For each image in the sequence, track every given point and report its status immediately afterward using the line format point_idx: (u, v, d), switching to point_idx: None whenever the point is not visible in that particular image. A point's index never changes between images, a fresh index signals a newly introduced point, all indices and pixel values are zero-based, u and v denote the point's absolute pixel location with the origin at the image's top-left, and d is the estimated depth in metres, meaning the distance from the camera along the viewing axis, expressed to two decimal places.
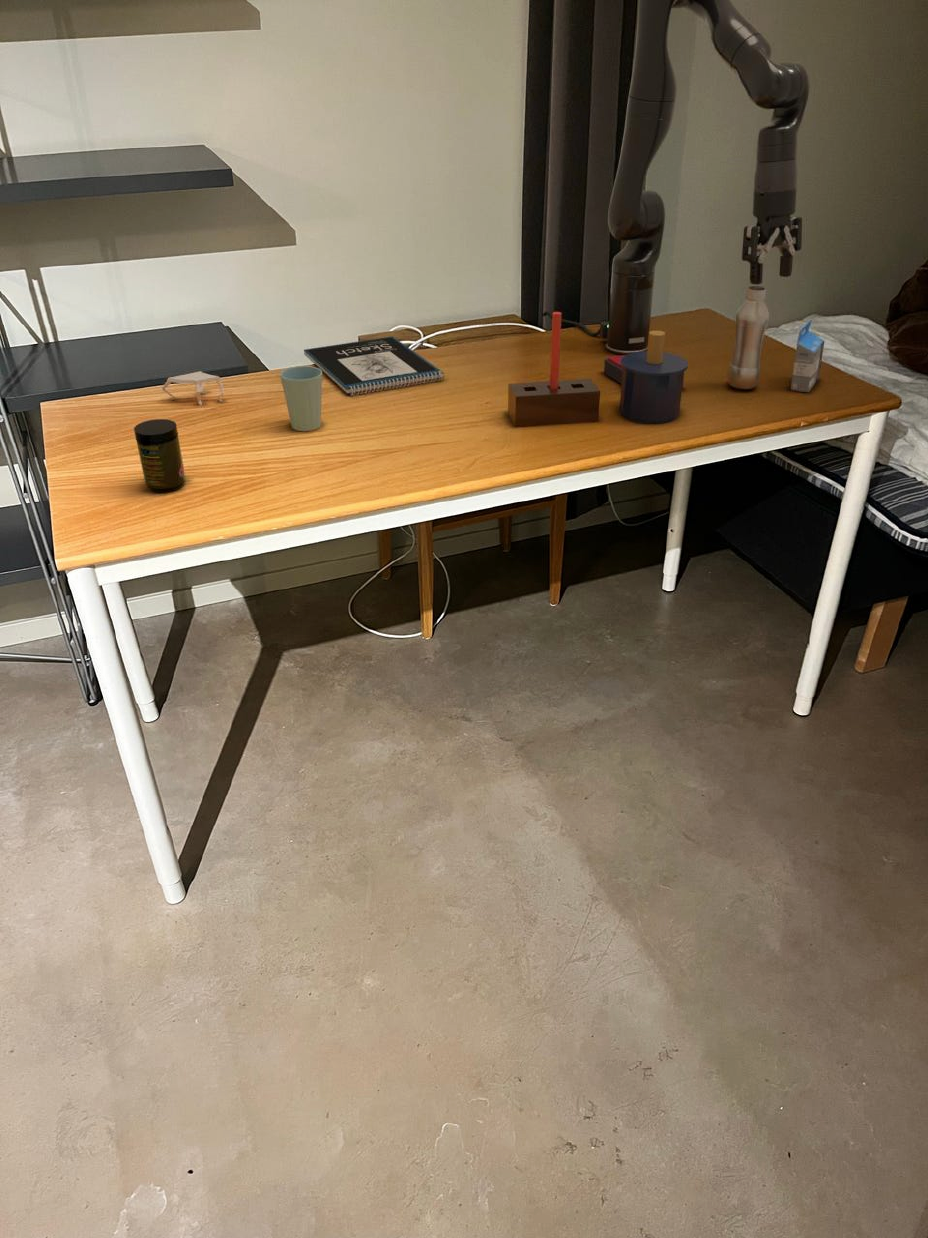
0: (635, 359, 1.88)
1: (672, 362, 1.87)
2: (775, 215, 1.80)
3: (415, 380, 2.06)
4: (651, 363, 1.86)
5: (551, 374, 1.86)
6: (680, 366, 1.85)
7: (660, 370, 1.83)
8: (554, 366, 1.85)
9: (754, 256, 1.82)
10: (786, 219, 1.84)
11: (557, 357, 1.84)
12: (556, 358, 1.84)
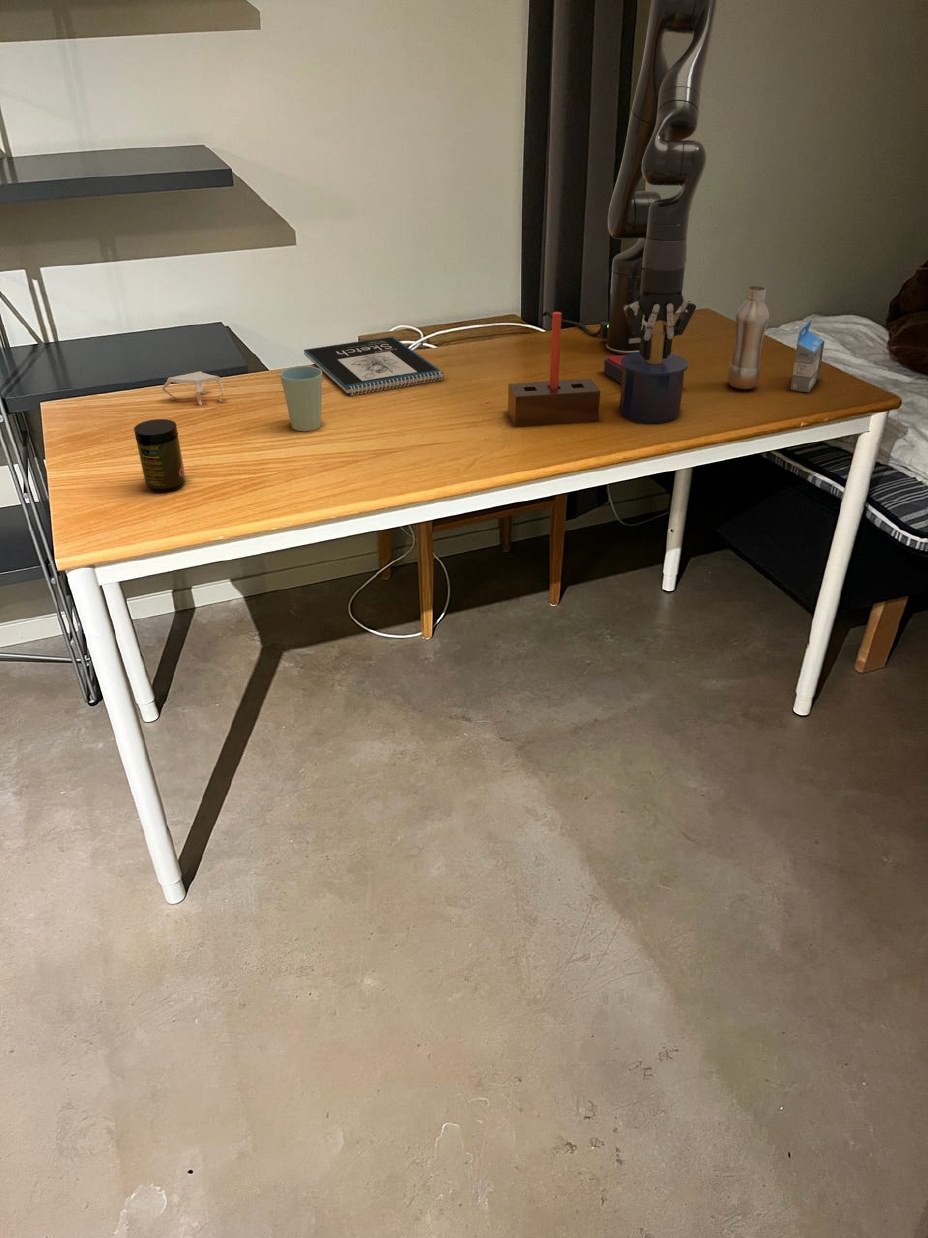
0: (635, 359, 1.88)
1: (672, 362, 1.87)
2: (651, 292, 1.77)
3: (415, 380, 2.06)
4: (651, 363, 1.86)
5: (551, 374, 1.86)
6: (680, 366, 1.85)
7: (660, 370, 1.83)
8: (554, 366, 1.85)
9: (637, 333, 1.82)
10: (674, 296, 1.80)
11: (557, 357, 1.84)
12: (556, 358, 1.84)
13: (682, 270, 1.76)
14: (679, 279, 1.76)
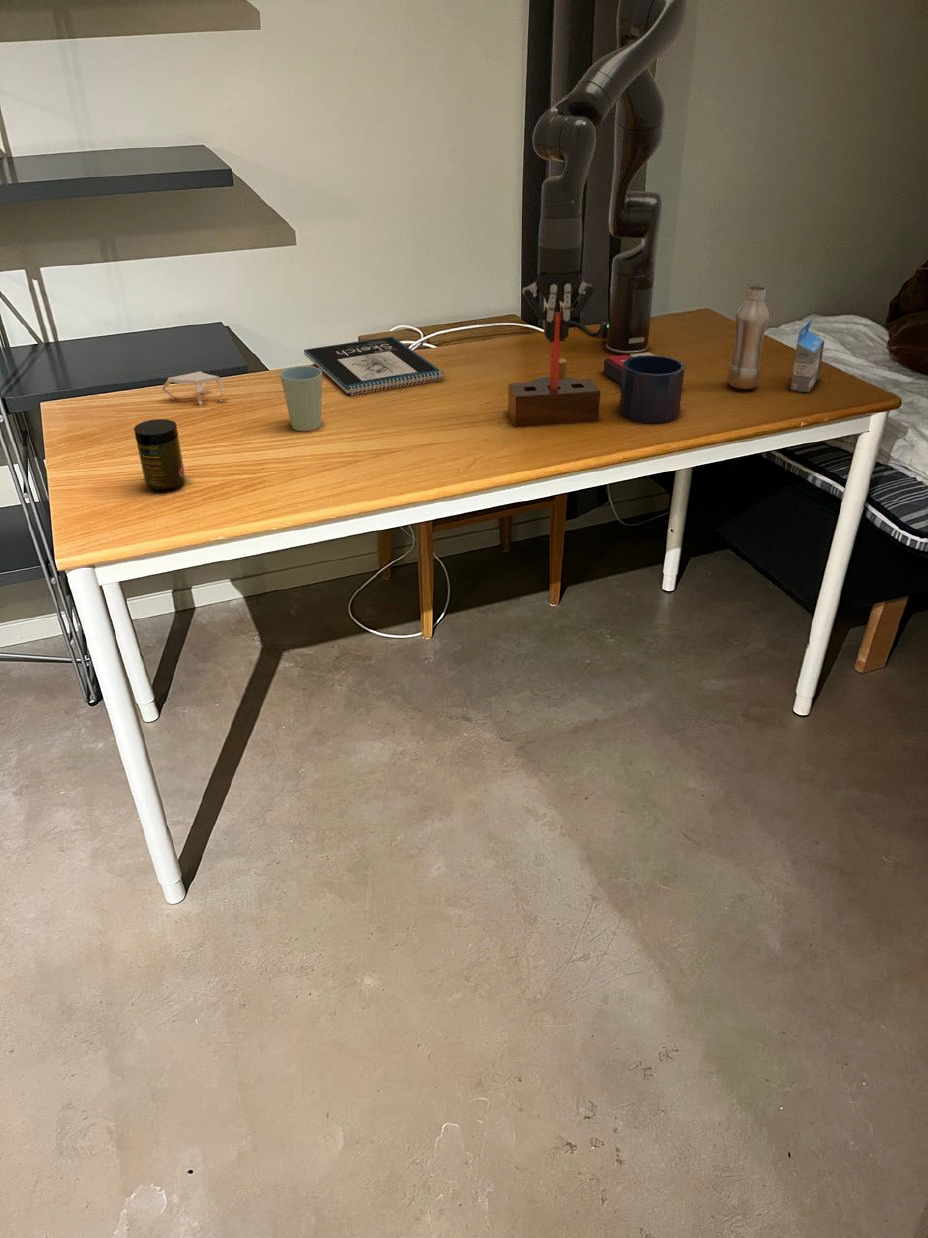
0: None
1: None
2: (547, 272, 1.73)
3: (415, 380, 2.06)
4: None
5: (551, 374, 1.86)
6: None
7: None
8: (554, 366, 1.85)
9: (540, 314, 1.78)
10: (572, 276, 1.76)
11: (557, 357, 1.84)
12: (556, 358, 1.84)
13: (578, 249, 1.72)
14: (575, 258, 1.72)
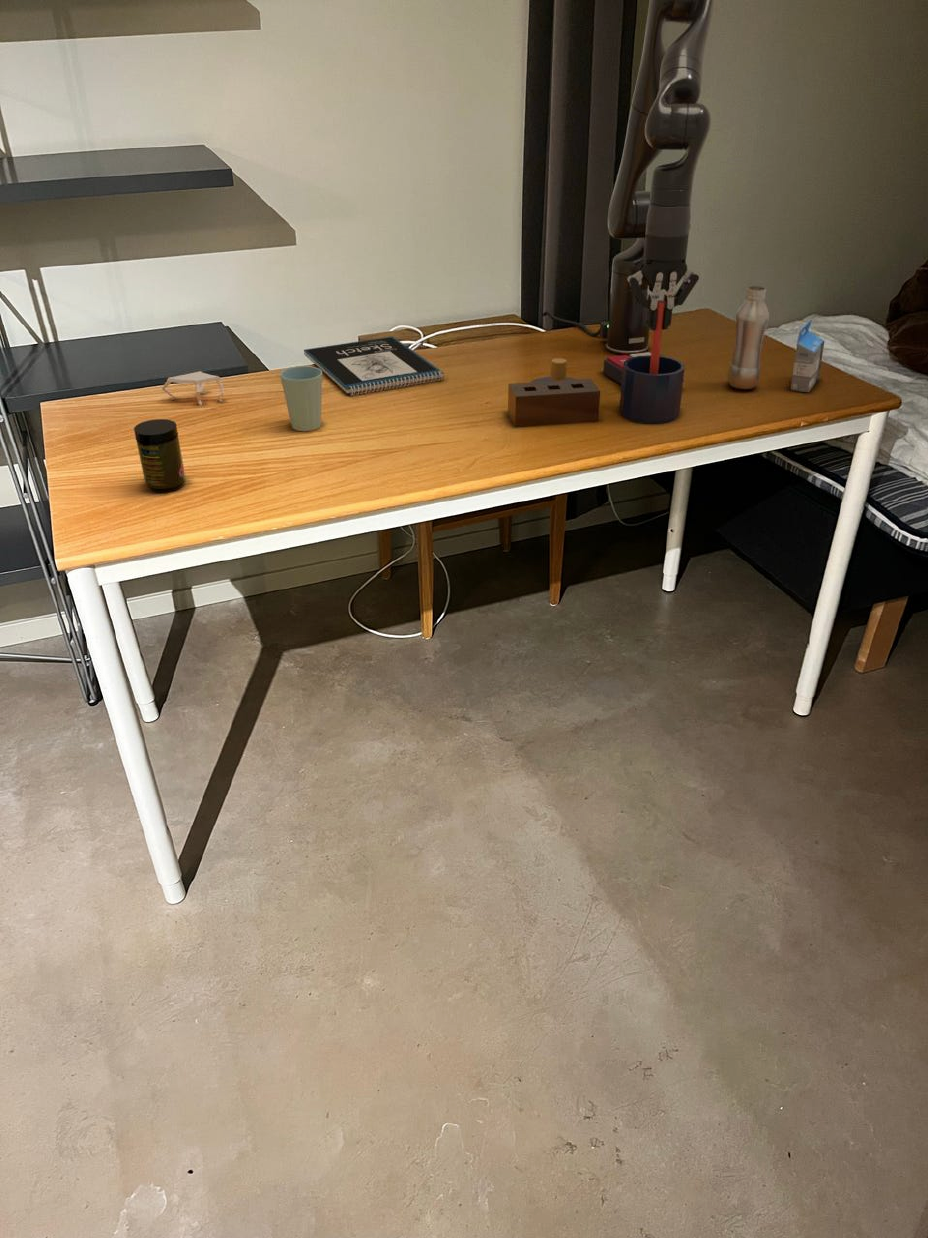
0: None
1: None
2: (654, 260, 1.74)
3: (415, 380, 2.06)
4: None
5: (651, 363, 1.87)
6: None
7: None
8: (655, 355, 1.85)
9: (644, 302, 1.79)
10: (678, 264, 1.77)
11: (658, 345, 1.85)
12: (657, 346, 1.85)
13: (686, 237, 1.73)
14: (683, 246, 1.73)
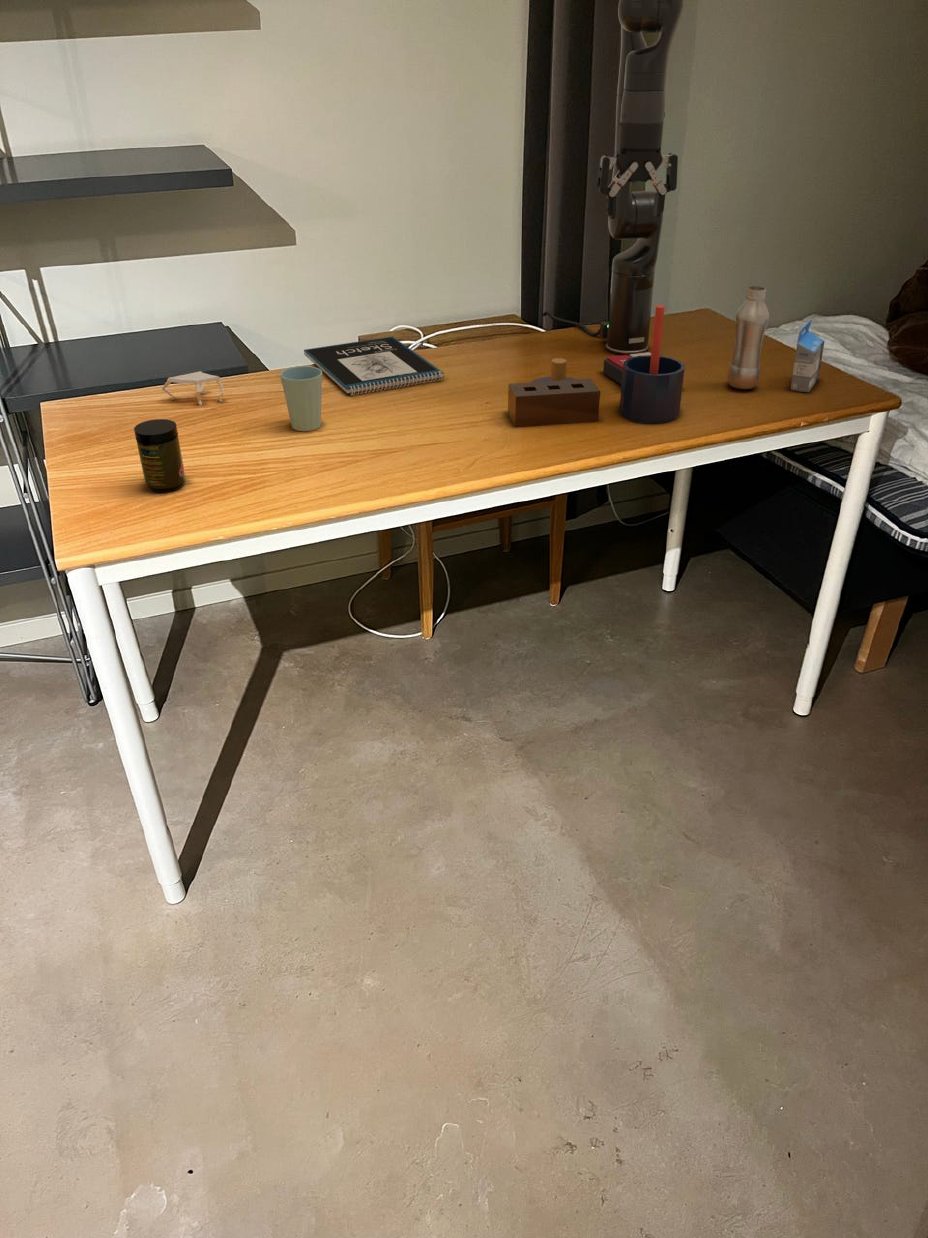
0: None
1: None
2: (629, 148, 1.73)
3: (415, 380, 2.06)
4: None
5: (651, 368, 1.87)
6: None
7: None
8: (655, 359, 1.86)
9: (603, 188, 1.77)
10: (653, 154, 1.75)
11: (658, 350, 1.85)
12: (657, 351, 1.85)
13: (660, 124, 1.71)
14: (657, 134, 1.72)
